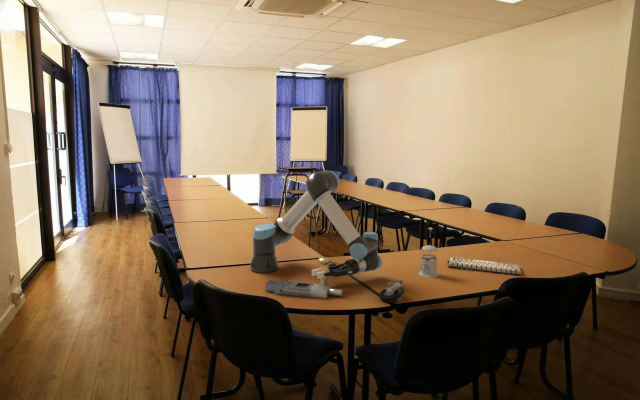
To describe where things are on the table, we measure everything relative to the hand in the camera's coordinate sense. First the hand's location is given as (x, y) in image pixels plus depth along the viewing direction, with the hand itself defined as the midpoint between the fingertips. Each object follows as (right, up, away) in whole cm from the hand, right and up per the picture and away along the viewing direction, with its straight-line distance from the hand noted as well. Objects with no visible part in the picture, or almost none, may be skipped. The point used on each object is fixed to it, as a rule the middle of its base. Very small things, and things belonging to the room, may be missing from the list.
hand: (314, 274), depth 190 cm
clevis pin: (+4, -7, +4) cm, 9 cm away
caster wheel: (+34, -10, -10) cm, 37 cm away
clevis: (-6, -8, -3) cm, 10 cm away
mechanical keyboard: (+92, -4, +38) cm, 100 cm away
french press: (+59, -5, +26) cm, 64 cm away
